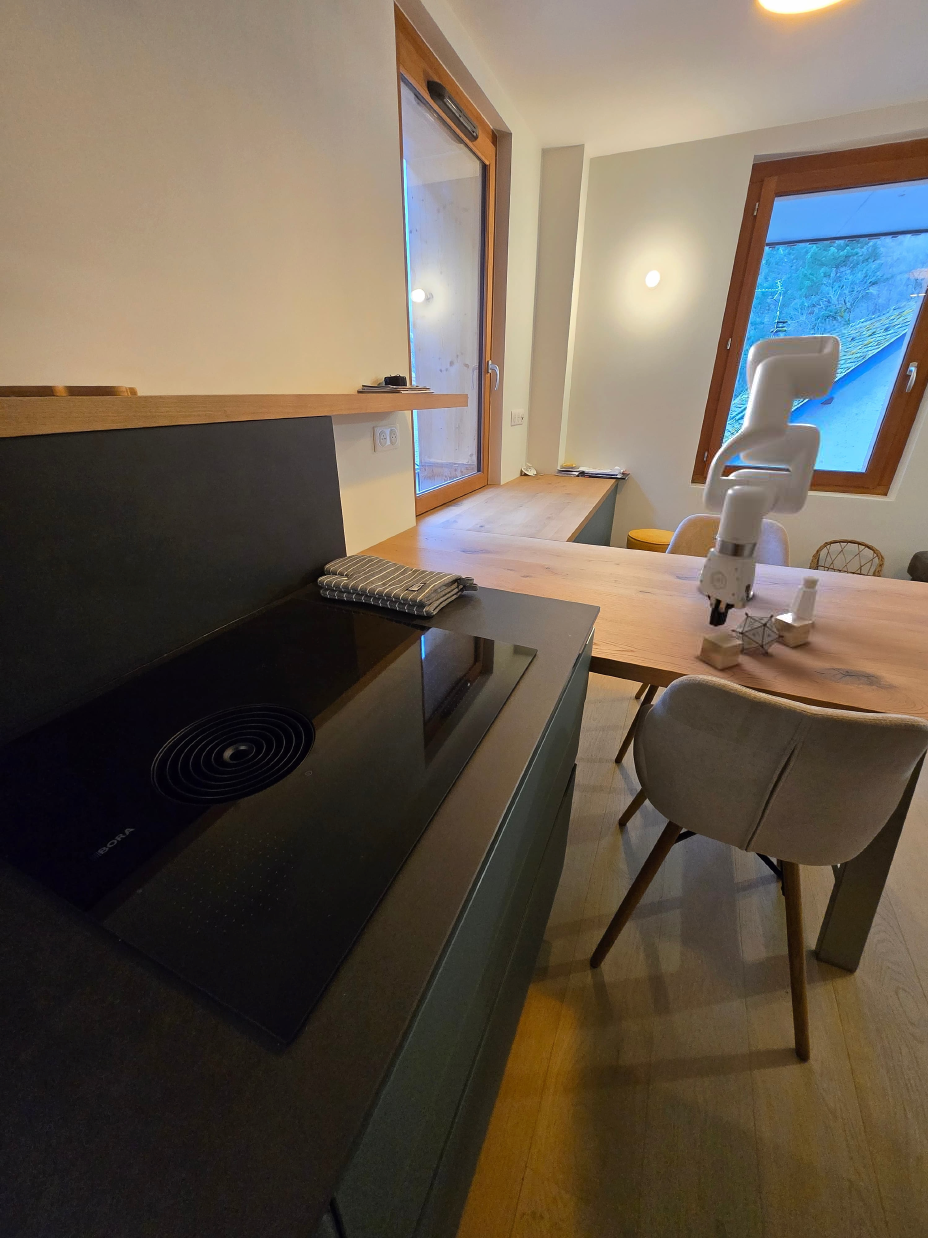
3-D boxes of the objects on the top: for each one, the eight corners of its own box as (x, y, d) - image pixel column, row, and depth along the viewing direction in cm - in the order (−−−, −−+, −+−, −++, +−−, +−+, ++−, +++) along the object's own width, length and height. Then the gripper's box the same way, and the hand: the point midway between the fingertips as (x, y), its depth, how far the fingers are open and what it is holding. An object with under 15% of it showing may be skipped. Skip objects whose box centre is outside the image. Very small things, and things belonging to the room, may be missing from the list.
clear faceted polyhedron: (754, 670, 103) (774, 651, 94) (717, 645, 107) (733, 625, 98) (778, 641, 105) (799, 620, 97) (741, 618, 109) (759, 595, 100)
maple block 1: (698, 658, 101) (703, 636, 99) (716, 652, 103) (721, 631, 101) (719, 669, 97) (724, 647, 95) (737, 664, 99) (743, 642, 96)
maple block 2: (769, 637, 108) (775, 617, 106) (784, 633, 110) (790, 612, 108) (790, 647, 104) (797, 626, 102) (806, 642, 106) (813, 621, 104)
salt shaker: (803, 629, 112) (818, 584, 107) (779, 620, 116) (792, 576, 111) (816, 623, 114) (830, 578, 110) (791, 614, 119) (804, 571, 114)
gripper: (693, 540, 108) (678, 614, 116) (754, 560, 96) (733, 642, 104) (717, 535, 111) (701, 608, 119) (780, 554, 99) (757, 634, 107)
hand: (716, 624), depth 112 cm, fingers closed
